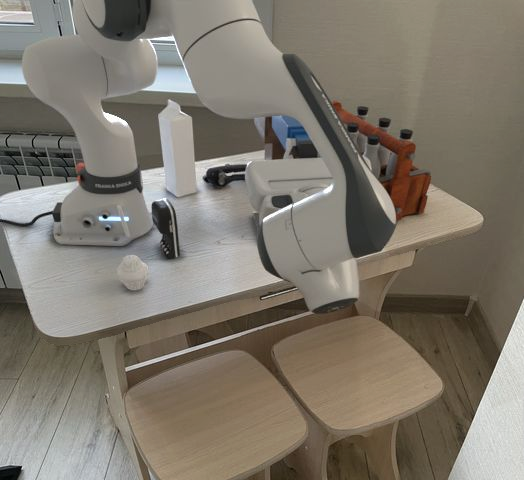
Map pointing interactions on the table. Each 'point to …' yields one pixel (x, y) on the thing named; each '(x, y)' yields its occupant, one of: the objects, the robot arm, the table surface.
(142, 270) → the muffin
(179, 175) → the milk
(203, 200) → the table surface
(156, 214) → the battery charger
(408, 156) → the milk bottle holder
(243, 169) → the can opener
